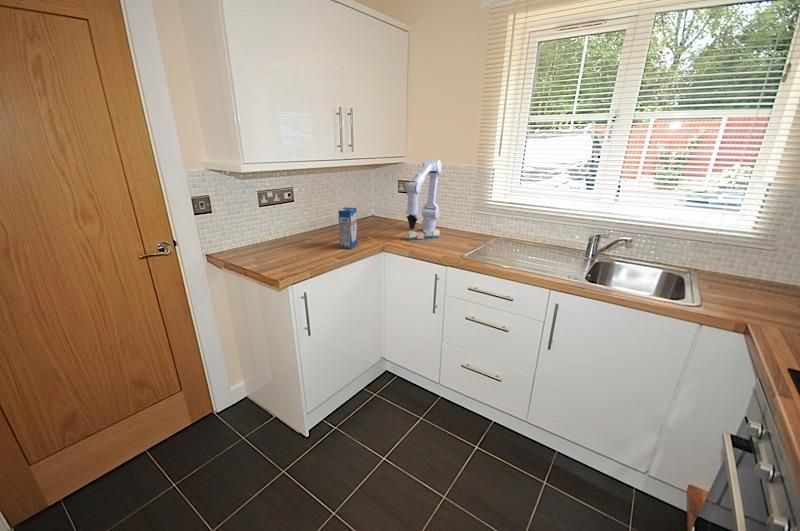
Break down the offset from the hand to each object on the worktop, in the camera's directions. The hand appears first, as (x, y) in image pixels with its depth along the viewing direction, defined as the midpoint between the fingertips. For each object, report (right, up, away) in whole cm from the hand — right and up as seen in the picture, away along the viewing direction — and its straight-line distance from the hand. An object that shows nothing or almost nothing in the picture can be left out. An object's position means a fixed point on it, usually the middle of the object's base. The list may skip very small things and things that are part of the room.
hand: (411, 228), depth 193 cm
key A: (+14, -3, +7) cm, 16 cm away
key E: (0, -4, +1) cm, 4 cm away
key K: (+9, -3, +5) cm, 11 cm away
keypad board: (+7, -6, +5) cm, 11 cm away
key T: (+4, -5, +4) cm, 8 cm away
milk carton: (-34, -11, -10) cm, 37 cm away
